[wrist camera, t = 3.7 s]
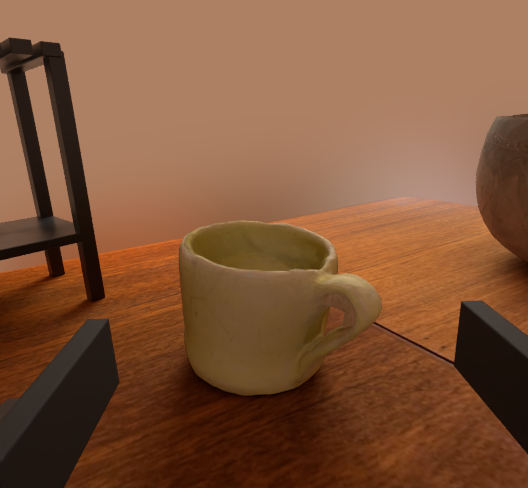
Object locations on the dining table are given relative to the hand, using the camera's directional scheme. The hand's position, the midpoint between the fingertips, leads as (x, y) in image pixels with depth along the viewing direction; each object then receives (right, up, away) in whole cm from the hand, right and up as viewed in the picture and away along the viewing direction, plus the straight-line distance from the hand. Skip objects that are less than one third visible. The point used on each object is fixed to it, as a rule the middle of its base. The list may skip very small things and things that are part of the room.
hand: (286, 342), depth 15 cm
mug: (0, -4, +10) cm, 11 cm away
